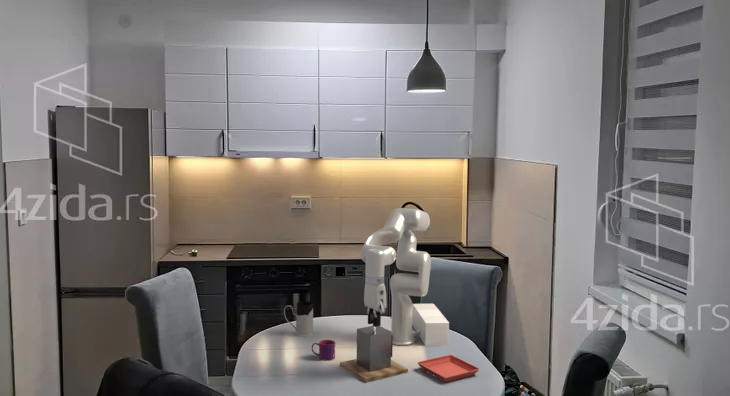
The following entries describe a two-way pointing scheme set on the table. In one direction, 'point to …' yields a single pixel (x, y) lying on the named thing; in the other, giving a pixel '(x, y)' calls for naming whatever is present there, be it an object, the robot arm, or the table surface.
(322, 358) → the mug
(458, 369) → the plant saucer
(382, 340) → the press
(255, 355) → the table surface
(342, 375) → the table surface
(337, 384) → the table surface
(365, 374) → the board
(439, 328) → the white rectangular block
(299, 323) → the grey and black pitcher
